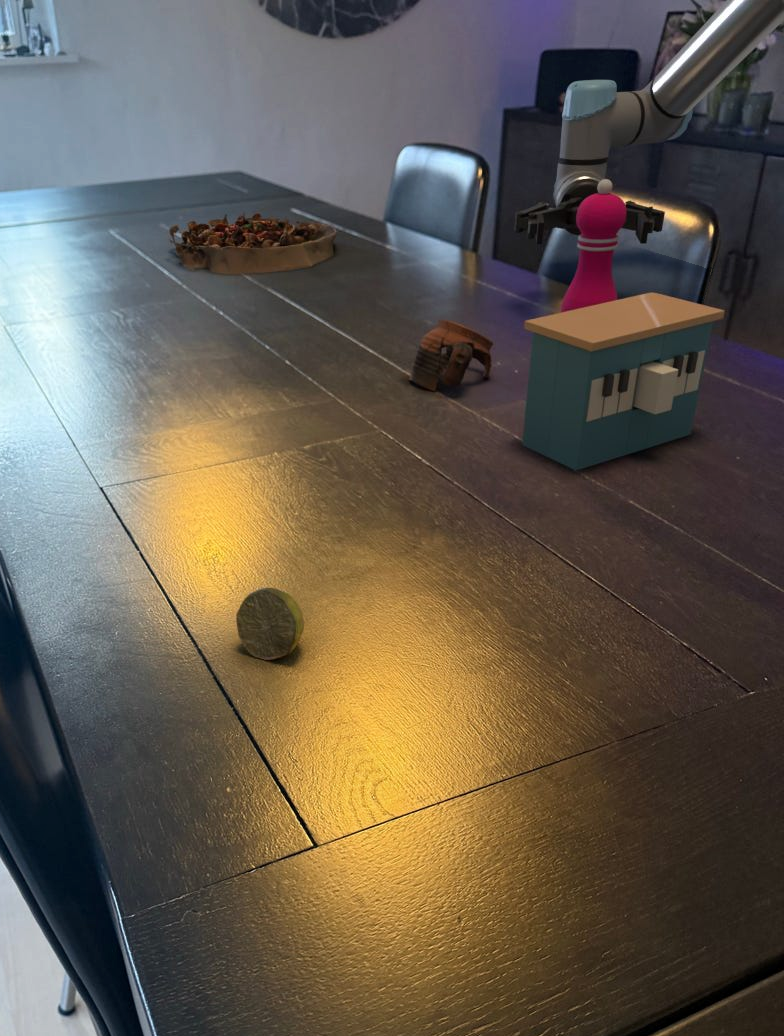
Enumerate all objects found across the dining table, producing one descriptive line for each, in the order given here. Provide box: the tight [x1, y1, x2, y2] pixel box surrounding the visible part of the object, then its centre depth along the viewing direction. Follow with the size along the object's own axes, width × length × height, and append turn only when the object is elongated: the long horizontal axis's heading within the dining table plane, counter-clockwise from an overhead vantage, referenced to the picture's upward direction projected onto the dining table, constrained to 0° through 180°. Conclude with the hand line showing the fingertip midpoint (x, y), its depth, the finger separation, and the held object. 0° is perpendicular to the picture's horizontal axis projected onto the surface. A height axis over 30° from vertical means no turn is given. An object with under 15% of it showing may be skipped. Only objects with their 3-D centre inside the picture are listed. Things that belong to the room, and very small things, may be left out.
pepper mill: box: [560, 178, 626, 313], centre depth 119 cm, size 7×7×20 cm
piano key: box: [633, 361, 678, 414], centre depth 90 cm, size 4×2×4 cm, turn 30°
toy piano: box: [521, 291, 725, 471], centre depth 94 cm, size 9×17×13 cm, turn 120°
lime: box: [235, 587, 305, 661], centre depth 66 cm, size 4×5×5 cm
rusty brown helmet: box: [408, 319, 494, 392], centre depth 112 cm, size 12×10×8 cm
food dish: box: [165, 212, 338, 275], centre depth 179 cm, size 35×33×8 cm
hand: (592, 233), depth 124 cm, fingers open, 13 cm apart
